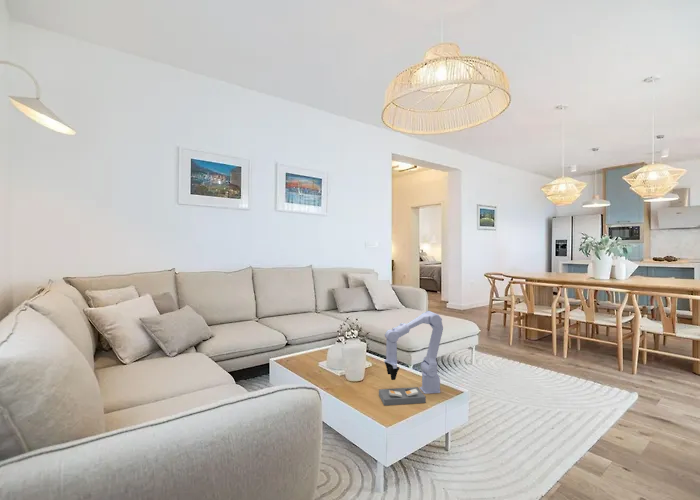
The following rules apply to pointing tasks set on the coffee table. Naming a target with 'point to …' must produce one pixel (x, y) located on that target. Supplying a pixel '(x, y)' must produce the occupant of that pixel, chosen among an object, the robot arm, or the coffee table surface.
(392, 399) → the grey switch panel
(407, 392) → the rocker
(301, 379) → the coffee table surface
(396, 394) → the rocker
